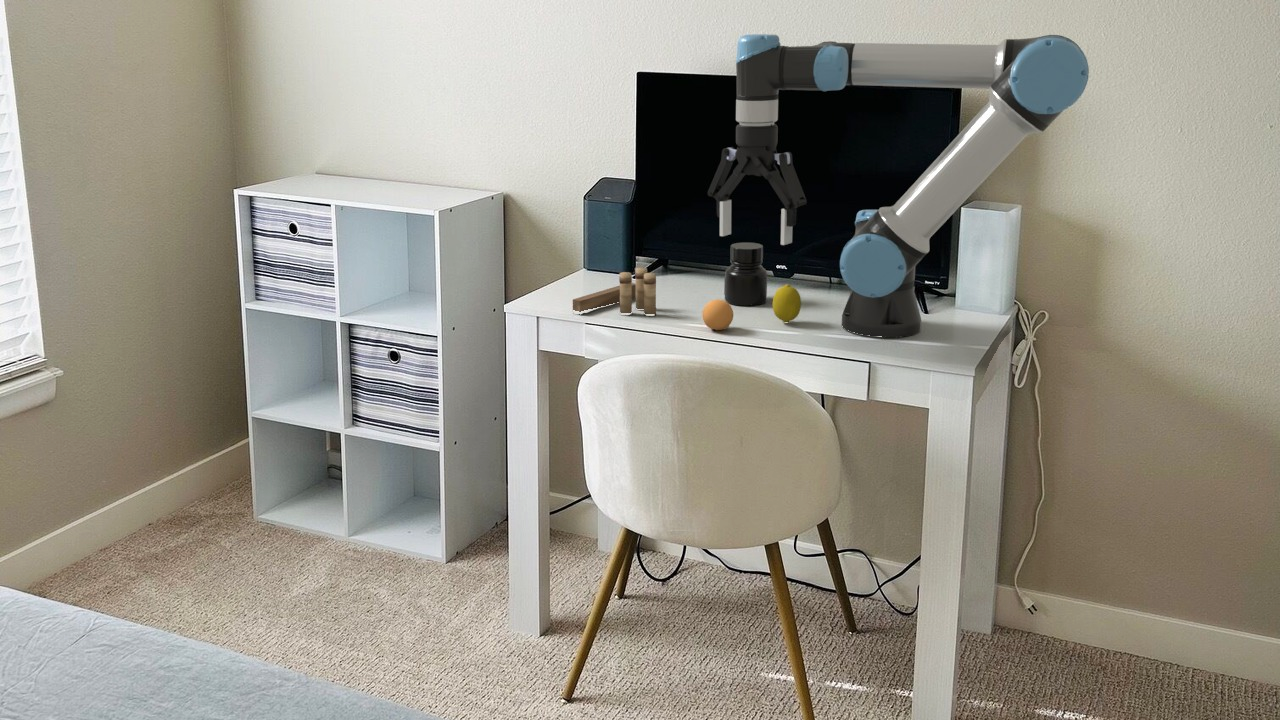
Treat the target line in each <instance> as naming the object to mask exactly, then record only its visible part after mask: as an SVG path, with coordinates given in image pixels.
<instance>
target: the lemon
mask: <svg viewBox="0 0 1280 720" xmlns="http://www.w3.org/2000/svg"><path fill="white" fill-rule="evenodd" d="M801 300H802V299H801V294H800V293H799V291H798V290H797V288H795V287H793V286H791V285H790V284H788V283H786V284H785V285H784V286H781V287H779V288H778V289H777V290H776V291H775V293H774V296H773V299H772V309H773V310H772V311H773V313H774V315H775V317H776V318H777V319H778V320H781V321H782V322H783V323H784V322H788V323H789V322H790V321H793V320H795V318H797V317H798V315H799V314H800V312H801V309H802V302H801Z"/></svg>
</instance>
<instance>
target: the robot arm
mask: <svg viewBox="0 0 1280 720" xmlns="http://www.w3.org/2000/svg"><path fill="white" fill-rule="evenodd" d="M735 65H736V66H735V67H736V99H735V121H736V122H737V123H739V124H737V125H736V126H735V143H736V145H737V147H736V149H735V147H734V146H731V147H726V148H722V150H721V158H720V162H719V164H718V166H717V169H716V172H715V173H714V177H713V179H712V181H711V183H710V186H709V187H708V190H707V196H708V197H712V198H714V199H715V200H716V216H717V218H719V237H726V236H728V235H732V199H730V196H731V194H732V193H733V191H734V190H735V189H736V187H738V185H739V184H740V182H741V181H742V180H743V178H744V177H745V176H746V175H747V176H755V177H762V176H763V178H764V179H765V180H767V181H768V182H769V184H770V185H771V187H772V189H773V191H774V193H776V195H777V196H778V198H779V199H780V201H781V203H782V204H783V206H784V207H783V208H781V209H780V211H781V214H780V245H781V246H785V245H789V244H792V243H793V227H795V226H797V211H798V210H797V209H798V208H800V207H801V206H805V205H807V203H808V202H807V197H806V195H805V193H804V190H803V187H802V185H801V182H800V180H799V178H798V175H797V172H796V170H795V167H794V164H793V154H792V152H790V151H787V152H786V151H785V152H781V153H778V152H777V145H778V143H779V142H778V139H779V138H778V136H779V135H778V133H779V127H778V125H777V124H776V122H777V121H778V120H779V92H780V91H779V90H781V91H786V90H788V91H790V90H792V91H793V90H794V91H822V92H827V91H840V90H843V89H844V88H845V87H846V86H877V87H878V86H880V87H881V86H882V87H913V88H915V87H916V88H945V89H946V88H947V89H948V88H949V89H953V88H954V89H977V90H978V89H981V90H982V89H983V90H984V89H985V90H987V89H988V90H989V100H988V102H987V103H986V104H985V105H984V106H983V107H982V108H981V110H979V111H978V113H977V114H976V115H975V116H974V117H973V118H972V119H971V120H970V121H969V122H968V123H967V125H966V126H965V127H964V128H963V129H962V130H961V131H960V133H958V134H957V136H956V137H955V138H954V139H953V140H952V141H951V142H950V143H949V144H948V146H947V147H946V148H944V150H943V151H942V152H941V153H940V155H938V156H937V158H936V159H935V160H934V161H933V162H932V163H931V164H930V165H929V166H928V167H927V168H926V170H925V171H923V173H921V175H920V176H919V177H918V178H917V180H915V182H914V183H913V184H912V185H911V186H910V187H909V188H908V189H907V191H905V193H904V194H903V195H902V196H901V197H900V198H899V199H898V200H897V201H896V202H895V204H893V205H891V206H882V207H879V209H862V210H859V211H858V212H857V213H856V217H855V221H854V226H855V232H854V235H853V237H852V238H851V239H850V240H848V241H847V242H846V244H845V245H844V247H842V251H841V253H840V259H839V269H840V270H839V271H840V274H841V277H842V279H843V281H844V282H845V284H846V285H847V286H848V288H850V289H851V291H850V292H849V293H850V294H849V295H848V298H847V301H846V303H845V306H844V309H843V312H842V315H841V327H842V326H843V327H842V329H844V328H845V329H846V330H845V329H844V330H845V331H847V330H849V331H851V332H855V333H858V334H863V335H870V336H882V337H896V338H901V337H900V336H905V337H909V336H908V335H910V336H913V335H912V334H914V335H915V334H918V333H919V332H920V331H921V328H922V327H921V326H922V325H921V324H922V317H921V312H920V308H919V306H918V302H917V298H916V297H917V296H916V293H915V278H916V266H917V265H918V264H919V263H920V262H921V261H922V259H923V258H924V257H925V256H926V255H927V254H928V253H929V252H930V239H931V237H933V235H935V233H936V232H937V231H938V230H939V229H940V228H941V227H942V226H944V224H945V223H946V222H947V220H949V219H950V217H951V216H952V215H954V213H955V212H956V211H957V210H958V209H959V208H960V206H962V205H963V204H964V203H965V202H966V201H967V199H969V197H970V196H971V195H972V194H973V193H974V192H975V191H976V190H977V189H978V188H979V187H980V186H981V185H982V184H983V182H984V181H986V180H987V178H988V177H989V176H990V175H991V174H992V173H993V172H994V171H995V170H996V169H997V168H998V167H999V165H1001V163H1003V162H1004V160H1005V159H1006V158H1007V157H1008V156H1009V155H1011V153H1012V152H1013V151H1014V150H1015V149H1016V148H1017V146H1018V145H1020V143H1022V141H1023V140H1024V139H1025V138H1027V136H1029V135H1035V134H1042V133H1044V131H1046V129H1047V128H1048V127H1049V126H1050V125H1051V124H1052V123H1053V122H1054V121H1055V120H1056V119H1057V118H1058V117H1059V116H1060V115H1061V114H1062V113H1063V111H1065V110H1067V109H1069V108H1070V107H1071V106H1073V105H1074V104H1075V103H1076V102H1077V101H1078V100H1079V98H1081V97H1082V95H1083V93H1084V92H1085V89H1086V86H1087V85H1088V81H1089V74H1090V70H1089V69H1090V68H1089V64H1088V59H1087V57H1086V55H1085V52H1084V51H1083V50H1082V48H1081V47H1080V46H1079V45H1078V44H1077V43H1076V42H1075V41H1073V40H1072V39H1071V38H1069V37H1066V36H1063V35H1061V34H1059V35H1058V34H1049V35H1048V34H1047V35H1043V36H1042V35H1041V36H1037V37H1029V38H1011V39H1010V38H1009V39H1008V38H1005V39H1003V40H1002V41H1001V42H1000V43H998V44H956V43H955V44H947V43H946V44H945V43H888V42H887V43H885V42H884V43H883V42H882V43H881V42H878V43H877V42H876V43H875V42H874V43H873V42H872V43H871V42H870V43H869V42H856V43H852V42H837V41H822V42H820V43H817V44H815V45H809V46H808V45H804V46H803V45H801V46H800V45H798V46H795V45H794V46H787V45H781V42H780V37H779V36H778V34H771V33H770V34H766V33H764V34H761V33H760V34H758V33H757V34H756V33H755V34H745V35H741V36H740V37H739V38H738V40H737V50H736V60H735ZM735 160H737V163H738V164H737V165H736V166H735V167H734V169H733V172H732V174H730V176H729V177H728V175H729V173H730V171H731V169H732V166H733V163H734V161H735ZM776 163H777V165H779V168H780V170H779V169H778V167H777V166H776ZM780 171H781V174H782V176H783V177H782V176H781V175H780ZM727 177H728V179H727ZM849 331H848V332H849ZM851 332H850V333H851ZM858 334H857V335H858ZM863 335H862V336H863Z"/></svg>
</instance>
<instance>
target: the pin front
mask: <svg viewBox="0 0 1280 720" xmlns="http://www.w3.org/2000/svg"><path fill="white" fill-rule="evenodd" d="M656 286H657V274H656V273H655V272H647V273H645V274H644V310H643V314H644V313H645V314H655V313H656V314H657V287H656Z"/></svg>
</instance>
